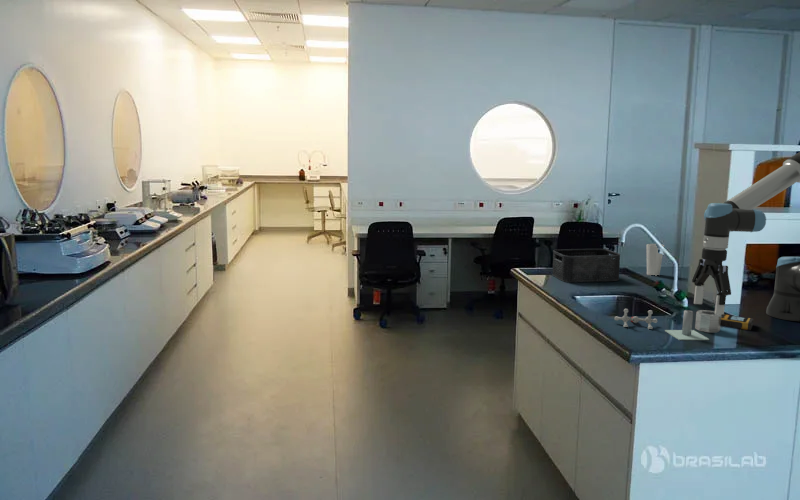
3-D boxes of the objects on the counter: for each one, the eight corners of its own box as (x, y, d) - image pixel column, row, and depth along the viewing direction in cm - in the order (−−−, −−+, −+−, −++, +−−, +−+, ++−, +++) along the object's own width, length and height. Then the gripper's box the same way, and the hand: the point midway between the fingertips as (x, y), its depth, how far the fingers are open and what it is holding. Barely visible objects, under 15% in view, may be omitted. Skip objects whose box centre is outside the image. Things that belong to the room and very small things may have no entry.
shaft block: (693, 331, 202) (695, 307, 200) (709, 340, 192) (711, 315, 191) (664, 331, 202) (666, 307, 200) (679, 340, 192) (681, 315, 190)
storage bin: (564, 283, 278) (566, 255, 276) (549, 274, 297) (551, 249, 295) (621, 282, 282) (623, 254, 279) (603, 274, 301) (605, 248, 298)
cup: (645, 276, 295) (647, 245, 293) (642, 272, 303) (644, 243, 301) (663, 276, 293) (666, 246, 291) (660, 273, 301) (662, 244, 299)
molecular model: (612, 331, 214) (617, 330, 205) (611, 310, 216) (616, 308, 206) (654, 330, 212) (661, 329, 202) (653, 309, 213) (659, 307, 203)
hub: (711, 326, 208) (713, 310, 207) (723, 332, 200) (725, 315, 200) (691, 326, 207) (693, 310, 206) (702, 332, 200) (704, 315, 199)
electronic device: (704, 319, 219) (705, 310, 219) (753, 326, 210) (753, 317, 209) (700, 324, 212) (701, 315, 212) (750, 331, 203) (751, 322, 203)
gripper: (685, 242, 212) (679, 299, 215) (725, 254, 187) (717, 318, 190) (706, 243, 212) (699, 300, 215) (748, 254, 187) (740, 318, 190)
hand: (708, 308), depth 203 cm, fingers open, 13 cm apart
